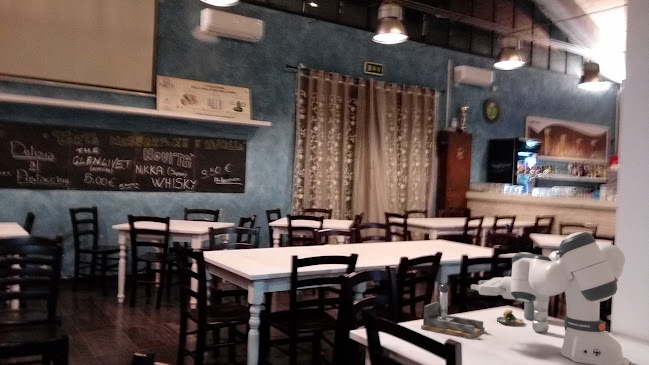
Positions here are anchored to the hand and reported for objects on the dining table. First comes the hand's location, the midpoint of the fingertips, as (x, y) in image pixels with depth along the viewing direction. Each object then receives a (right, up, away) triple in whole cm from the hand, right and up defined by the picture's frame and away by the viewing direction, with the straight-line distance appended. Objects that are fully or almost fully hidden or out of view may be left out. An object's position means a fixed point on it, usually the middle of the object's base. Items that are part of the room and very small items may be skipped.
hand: (475, 284), depth 226 cm
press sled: (-12, -19, +8) cm, 24 cm away
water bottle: (+37, -22, +30) cm, 52 cm away
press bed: (-8, -20, +5) cm, 23 cm away
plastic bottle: (+30, -22, +6) cm, 37 cm away
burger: (+22, -22, +21) cm, 37 cm away
